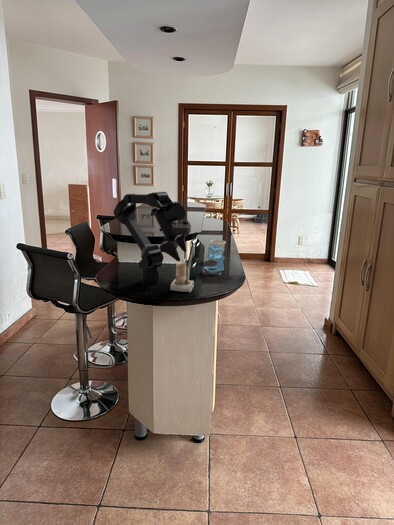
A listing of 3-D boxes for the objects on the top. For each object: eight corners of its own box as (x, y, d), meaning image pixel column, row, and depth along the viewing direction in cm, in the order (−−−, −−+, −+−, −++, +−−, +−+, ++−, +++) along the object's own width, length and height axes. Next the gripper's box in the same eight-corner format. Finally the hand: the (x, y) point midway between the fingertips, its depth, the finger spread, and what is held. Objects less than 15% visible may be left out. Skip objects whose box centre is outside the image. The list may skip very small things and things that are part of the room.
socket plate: (170, 290, 149) (170, 284, 149) (174, 284, 156) (174, 278, 155) (190, 292, 148) (190, 286, 147) (193, 286, 155) (194, 280, 154)
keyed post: (175, 289, 151) (176, 263, 148) (177, 286, 154) (178, 261, 151) (186, 290, 150) (187, 264, 147) (188, 287, 153) (189, 262, 150)
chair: (226, 272, 175) (227, 247, 172) (210, 273, 172) (211, 248, 168) (219, 267, 182) (220, 243, 178) (203, 268, 179) (205, 244, 175)
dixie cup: (218, 263, 189) (219, 244, 186) (205, 259, 193) (206, 241, 190) (227, 259, 195) (228, 241, 192) (214, 256, 200) (215, 238, 197)
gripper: (176, 224, 136) (193, 260, 141) (189, 208, 152) (204, 241, 157) (151, 234, 140) (169, 268, 145) (166, 217, 156) (182, 249, 161)
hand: (182, 256), depth 152 cm, fingers open, 9 cm apart
